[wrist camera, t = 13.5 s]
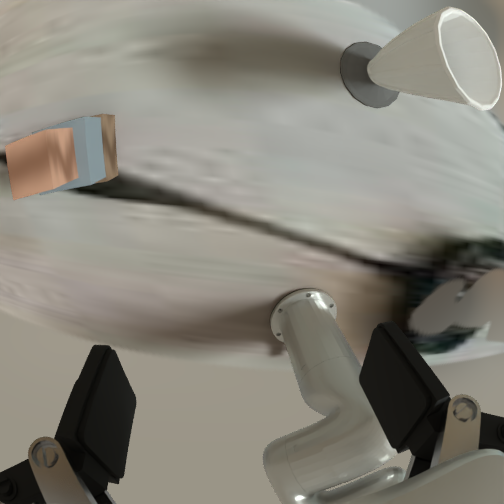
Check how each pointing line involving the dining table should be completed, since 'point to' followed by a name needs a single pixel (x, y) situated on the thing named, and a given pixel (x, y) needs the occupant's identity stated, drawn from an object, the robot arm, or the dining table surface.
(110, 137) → the tower base
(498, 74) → the cup
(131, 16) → the dining table surface
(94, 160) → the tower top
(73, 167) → the terracotta cube
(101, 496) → the robot arm
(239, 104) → the dining table surface
